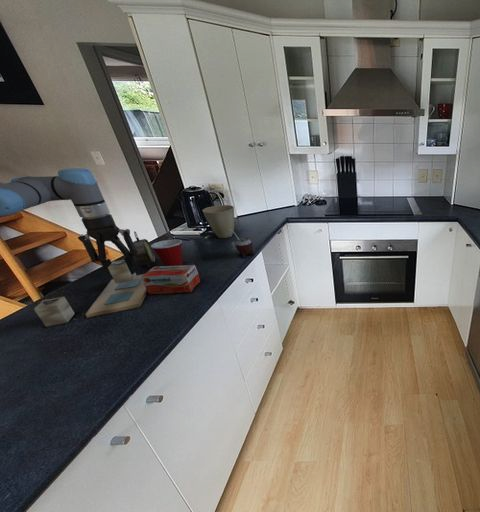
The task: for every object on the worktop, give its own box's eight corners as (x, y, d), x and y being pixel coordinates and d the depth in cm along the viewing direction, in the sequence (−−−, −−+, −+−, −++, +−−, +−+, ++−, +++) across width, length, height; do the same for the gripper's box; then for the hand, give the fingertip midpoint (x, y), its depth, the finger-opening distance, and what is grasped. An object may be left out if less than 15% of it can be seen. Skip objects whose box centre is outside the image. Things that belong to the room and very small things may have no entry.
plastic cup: (193, 260, 127) (185, 236, 121) (184, 271, 117) (175, 246, 112) (166, 262, 124) (157, 238, 119) (155, 274, 115) (144, 248, 110)
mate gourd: (256, 252, 136) (250, 223, 129) (249, 259, 129) (242, 229, 122) (242, 251, 136) (235, 223, 129) (233, 258, 129) (226, 229, 122)
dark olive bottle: (154, 268, 119) (140, 234, 112) (139, 271, 117) (123, 237, 109) (157, 259, 127) (144, 226, 120) (142, 261, 125) (128, 228, 118)
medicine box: (201, 281, 111) (195, 264, 107) (191, 292, 103) (185, 274, 100) (160, 283, 109) (153, 266, 105) (147, 295, 101) (139, 276, 98)
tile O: (115, 283, 101) (107, 266, 98) (120, 277, 105) (112, 261, 102) (132, 280, 103) (124, 264, 100) (136, 274, 107) (129, 258, 104)
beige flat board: (87, 317, 90) (84, 313, 89) (113, 282, 109) (111, 279, 108) (140, 306, 95) (138, 303, 94) (156, 275, 114) (154, 271, 114)
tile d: (45, 326, 85) (33, 308, 82) (54, 317, 89) (42, 299, 86) (67, 322, 87) (56, 304, 84) (74, 313, 91) (64, 296, 88)
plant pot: (245, 232, 158) (239, 206, 151) (225, 242, 146) (217, 213, 139) (225, 229, 162) (218, 203, 155) (203, 238, 150) (195, 210, 143)
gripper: (53, 222, 86) (88, 284, 97) (126, 215, 94) (151, 273, 104) (65, 215, 92) (96, 274, 103) (132, 209, 100) (155, 265, 110)
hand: (124, 274), depth 103 cm, fingers closed on tile O, 5 cm apart
